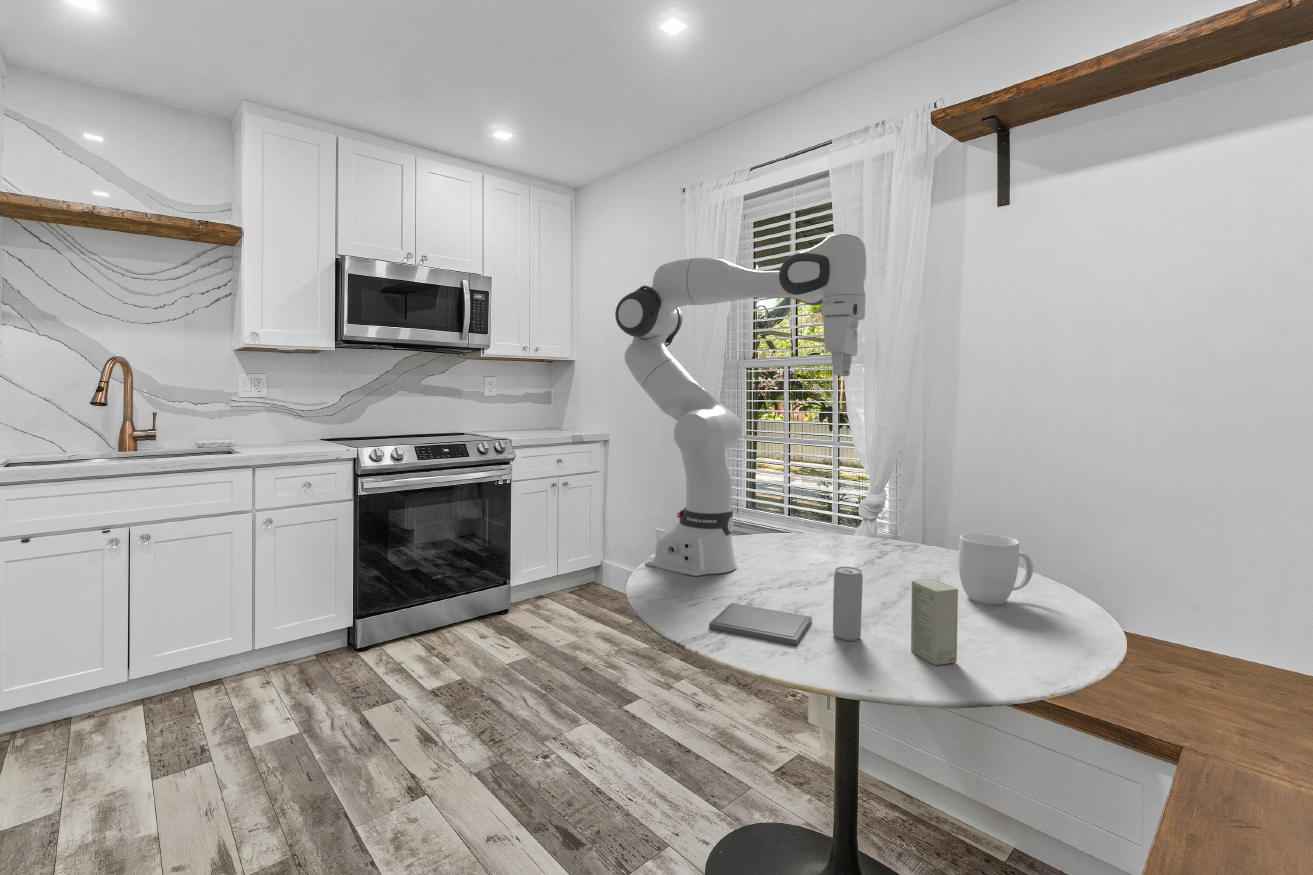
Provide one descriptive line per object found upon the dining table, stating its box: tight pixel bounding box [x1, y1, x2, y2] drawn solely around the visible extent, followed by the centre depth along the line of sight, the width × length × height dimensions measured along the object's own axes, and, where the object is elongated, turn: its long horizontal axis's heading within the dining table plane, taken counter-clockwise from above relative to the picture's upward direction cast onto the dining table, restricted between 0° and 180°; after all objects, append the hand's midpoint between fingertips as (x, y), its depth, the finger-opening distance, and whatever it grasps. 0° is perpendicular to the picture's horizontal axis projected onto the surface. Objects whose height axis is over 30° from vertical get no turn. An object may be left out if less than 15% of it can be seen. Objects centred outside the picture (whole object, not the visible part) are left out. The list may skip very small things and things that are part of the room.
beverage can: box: [832, 566, 864, 642], centre depth 108 cm, size 5×5×12 cm
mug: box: [958, 532, 1034, 606], centre depth 128 cm, size 15×11×13 cm
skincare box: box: [910, 578, 959, 666], centre depth 100 cm, size 6×4×12 cm
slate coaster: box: [708, 602, 813, 646], centre depth 113 cm, size 16×12×1 cm
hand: (841, 375), depth 133 cm, fingers open, 8 cm apart
